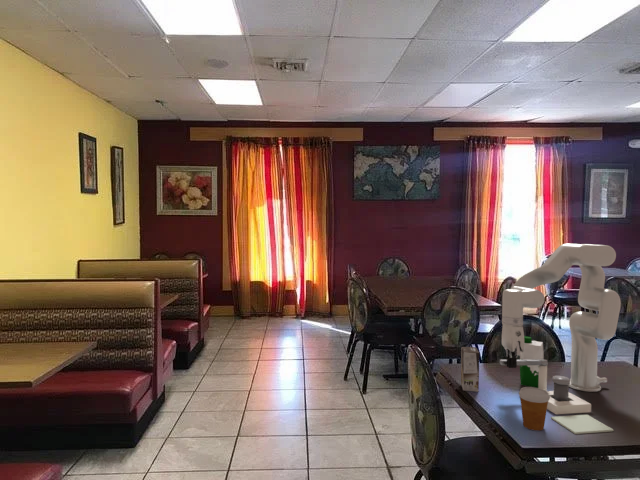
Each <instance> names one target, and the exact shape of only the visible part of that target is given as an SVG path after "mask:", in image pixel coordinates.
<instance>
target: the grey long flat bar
mask: <svg viewBox="0 0 640 480" xmlns="http://www.w3.org/2000/svg"><path fill="white" fill-rule="evenodd" d="M499 365H501V366H507V359H499ZM520 365H542V366H547V367H548V359H539V360H520V359H517V366H520Z"/></svg>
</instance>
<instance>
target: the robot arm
mask: <svg viewBox="0 0 640 480" xmlns="http://www.w3.org/2000/svg"><path fill="white" fill-rule="evenodd" d="M616 258H617V252H616V250H615V249H614V248H613V247H612V246H610V245H607V244H606V245H605V244H591V243H581V244H580V243H563V244H561V245H559V246H558V247H557V248H556V249H555V250H554V251H553V252H552V254H550V256H549V257H548V258H547V259H546V260H545V262H544V263H543V264H542V265H541V266H539V267H537V268H535V269H532V270H531V271H529V272H527V273H525V274H524V275H521V276H520V277H519V278H518V279H517V280H516V282H515V283H513V285H512V286H511V287H510V288H507V289H504V290H503V291H502V301H501V302H502V305H501V306H502V308H501V310H502V313H501V324H502V328H501V330H502V331H501V345H502V347H503V348H504V350H505V351H506V352H505V353H506V360H507V365H506V367H507V368H509V369H516V368H517V366H518V365H517V360H518V359H517V358H518V357H520V351H522V352H523V351H524V336H525V333H524V326H523V325H524V309H525V308H526V309H539V308H540V307H542V306H543V305H544V303H545V298H546V297H545V295H544V294H543V292H542V291H540V290H538V289H536V288H537V287H540V286H542V285H548V284H551V283H556V282H558V281H560V280H561V279H562V278H563V276H564V275H565V274H566V273H567V272H568V271H569V270H570V269H571V268H572V266H579V269H580V272H581V278H580V286H579V290H578V295H577V296H578V297H577V303H578V305H579V306H580V307H582V308H584V309H587V310H591V311H597V312H598V313H593V312H588V311H584V310H583V311H581V310H580V311H576V312H573V313H572V314H571V315H570V317H569V321H568V323H569V324H568V325H569V330H570V335H571V350H570V351H571V352H570V357H571V359H570V360H571V361H570V378H569V379H570V384H569V388H571V389H574V390H577V391H582V392H591V393H592V392H593V393H595V392H600V391H602V386H601V385H600V384H601V383H607V382H608V378H607V377H600V376H598V353H599V352H598V351H599V349H598V348H599V347H598V343H597V340H596V339H598V340H603V341H604V340H605V341H609V340H610V339H612V338H613V337H614V335H616V331H617V327H618V321H619V316H620V312H621V307H622V306H621V305H622V304H621V302H622V301H621V297H620V295H619V294H618V292H616V291H615V290H613V289H609V288H605V282H606V274H605V271H604V269H603V267H609V266H611V265H612V264H614V262H615V261H616Z"/></svg>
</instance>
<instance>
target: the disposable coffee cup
mask: <svg viewBox="0 0 640 480" xmlns="http://www.w3.org/2000/svg"><path fill="white" fill-rule="evenodd" d="M519 389H520V390H519V392H518V395H519V397H520V407H521V416H522V417H521V418H522V425H523V427H524V428H526V429H528V430H531V431H539V432H540V431H542V430H544V429H545V422H546V416H547V410H548V409H547V405H548V401H549V399H550V397H549V395H548V392H547V391H548V390H547V391H545V390H543V389H539V388H536V387H530V386H525V387H524V386H523V387H521V388H519Z"/></svg>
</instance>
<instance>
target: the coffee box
mask: <svg viewBox="0 0 640 480" xmlns="http://www.w3.org/2000/svg"><path fill="white" fill-rule="evenodd" d="M460 350H461V351H460V356H461V358H460V359H461V360H460V363H461V364H460V370H461V371H460V385H461V387H462V391H467V392H480V390H479V389H480V388H479V385H480V382H479V381H480V352H479V350H478V348H477V347H475V346H461V348H460Z"/></svg>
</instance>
